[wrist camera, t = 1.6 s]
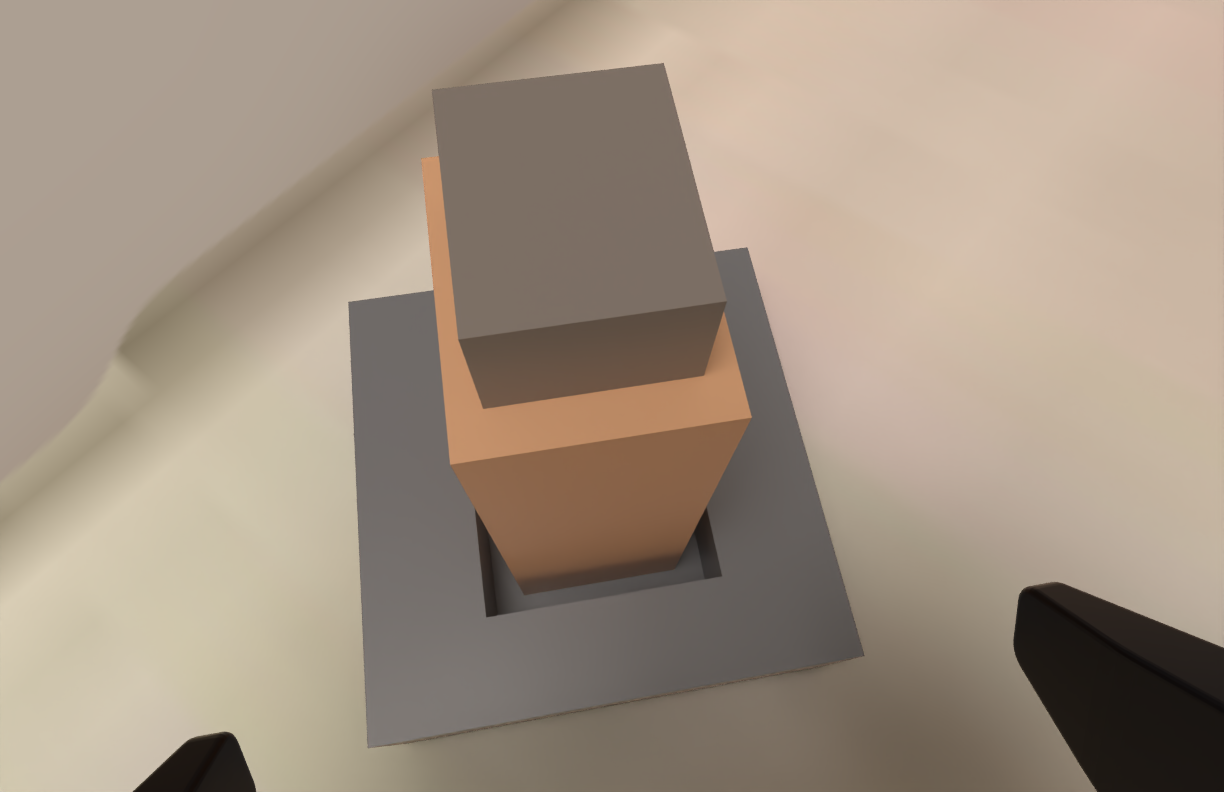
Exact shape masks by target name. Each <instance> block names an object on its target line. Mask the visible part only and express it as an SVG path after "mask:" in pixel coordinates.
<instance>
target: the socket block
mask: <svg viewBox="0 0 1224 792" xmlns="http://www.w3.org/2000/svg"><path fill="white" fill-rule="evenodd" d="M714 254H715V258H716V262H717V266H718V269H719V273H720V277H721V281H722V284H723V288H724V292H725V296H726V299H727V303H726V306H725V309H724V313H725V317H726V321H727V325H728V328H729V332H730V336H731V340H732V344H733V347H734V351H735V355H736V359H737V363H738V367H739V370H740V374H741V378H742V382H743V386H744V389H745V393H746V397H747V401H748V405H749V409H750V412H751V416H752V418H751V420H750V422H749V424H748V426H747V428H746V430H745V432H744V434H743V436H742V438H741V440H740V442H739V444H738V446H737V448H736V450H735V452H734V453H733V455H732V457H731V459H730V461H729V463H728V465H727V467H726V469H725V471H724V473H723V475H722V477H721V479H720V481H719V483H718V485H717V487H716V489H715V491H714V493H713V495H712V497H711V499H710V500H709V502H708V504H707V506H706V508H705V510H704V512H703V514H702V516H701V518H700V520H699V522H698V524H697V526H696V528H695V530H694V532H693V534H692V536H691V538H690V540H689V542H688V544H687V545H686V547H685V549H684V551H683V553H682V555H681V557H680V559H679V561H678V563H677V565H676V567H675V569H674V570H669V571H663V572H657V573H651V574H645V575H640V576H634V577H628V578H622V579H616V580H610V581H605V582H599V583H593V584H587V585H581V586H576V587H570V588H564V589H558V590H552V591H547V592H541V593H535V594H529V595H524V594H523V592H522V590H521V588H520V587H519V585H518V583H517V581H516V580H515V578H514V576H513V574H512V573H511V571H510V569H509V567H508V566H507V564H506V562H505V560H504V559H503V557H502V555H501V553H500V552H499V550H498V548H497V546H496V544H495V543H494V541H493V539H492V537H491V536H490V534H489V532H488V530H487V529H486V527H485V525H484V523H483V522H482V520H481V518H480V516H479V515H478V513H477V511H476V509H475V508H474V506H473V504H472V502H471V500H470V499H469V497H468V495H467V493H466V492H465V490H464V488H463V486H462V485H461V483H460V481H459V479H458V478H457V476H456V474H455V472H454V471H453V469H452V467H451V465H450V458H449V447H448V436H447V426H446V415H445V405H444V394H443V383H442V373H441V362H440V351H439V341H438V330H437V319H436V309H435V298H434V290H433V291H426V292H418V293H411V294H404V295H397V296H389V297H382V298H375V299H367V300H360V301H353V302H348V303H349V326H350V349H351V372H352V395H353V418H354V441H355V464H356V487H357V510H358V533H359V556H360V580H361V603H362V626H363V649H364V672H365V695H366V718H367V741H368V748H373V747H382V746H391V745H399V744H407V743H413V742H418V741H423V740H429V739H434V738H439V737H445V736H450V735H456V734H461V733H466V732H472V731H477V730H482V729H488V728H493V727H499V726H504V725H509V724H515V723H520V722H525V721H531V720H536V719H542V718H547V717H552V716H558V715H563V714H568V713H574V712H579V711H585V710H590V709H595V708H601V707H606V706H611V705H617V704H622V703H628V702H633V701H638V700H644V699H649V698H654V697H660V696H665V695H671V694H676V693H681V692H687V691H692V690H697V689H703V688H708V687H714V686H719V685H724V684H730V683H735V682H740V681H746V680H751V679H757V678H762V677H767V676H773V675H778V674H783V673H789V672H794V671H800V670H805V669H810V668H816V667H821V666H825V665H829V664H833V663H838V662H842V661H846V660H850V659H854V658H858V657H862V656H864V653H863V649H862V646H861V642H860V639H859V635H858V632H857V628H856V625H855V621H854V618H853V614H852V611H851V607H850V604H849V600H848V597H847V593H846V590H845V586H844V583H843V579H842V576H841V573H840V569H839V566H838V562H837V559H836V555H835V552H834V548H833V545H832V541H831V538H830V534H829V531H828V527H827V524H826V520H825V517H824V513H823V510H822V506H821V503H820V499H819V496H818V492H817V489H816V485H815V482H814V478H813V475H812V471H811V468H810V464H809V461H808V457H807V454H806V450H805V447H804V443H803V440H802V436H801V433H800V429H799V426H798V422H797V419H796V415H795V412H794V408H793V405H792V401H791V398H790V394H789V391H788V387H787V384H786V380H785V377H784V373H783V370H782V367H781V363H780V360H779V356H778V353H777V349H776V346H775V342H774V339H773V335H772V332H771V328H770V325H769V321H768V318H767V314H766V311H765V307H764V304H763V300H762V297H761V293H760V290H759V286H758V283H757V279H756V276H755V272H754V269H753V265H752V262H751V258H750V255H749V251H748V248H740V249H733V250H725V251H718V252H714Z"/></svg>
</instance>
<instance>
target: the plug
mask: <svg viewBox="0 0 1224 792" xmlns="http://www.w3.org/2000/svg"><path fill="white" fill-rule="evenodd" d="M432 96H433V106H434V115H435V124H436V134H437V143H438V153H439V156H437V157H429V158H421V160H422V171H423V181H424V192H425V202H426V213H427V224H428V234H429V245H430V256H431V266H432V277H433V288H434V298H435V309H436V319H437V330H438V341H439V351H440V362H441V373H442V383H443V394H444V405H445V415H446V426H447V436H448V447H449V458H450V465H451V467H452V469H453V471H454V472H455V474H456V476H457V478H458V479H459V481H460V483H461V485H462V486H463V488H464V490H465V492H466V493H467V495H468V497H469V499H470V500H471V502H472V504H473V506H474V508H475V509H476V511H477V513H478V515H479V516H480V518H481V520H482V522H483V523H484V525H485V527H486V529H487V530H488V532H489V534H490V536H491V537H492V539H493V541H494V543H495V544H496V546H497V548H498V550H499V552H500V553H501V555H502V557H503V559H504V560H505V562H506V564H507V566H508V567H509V569H510V571H511V573H512V574H513V576H514V578H515V580H516V581H517V583H518V585H519V587H520V588H521V590H522V592H523V594H524V595H529V594H535V593H541V592H547V591H552V590H558V589H564V588H570V587H576V586H581V585H587V584H593V583H599V582H605V581H610V580H616V579H622V578H628V577H634V576H640V575H645V574H651V573H657V572H663V571H669V570H674V569H675V567H676V565H677V563H678V561H679V559H680V557H681V555H682V553H683V551H684V549H685V547H686V545H687V544H688V542H689V540H690V538H691V536H692V534H693V532H694V530H695V528H696V526H697V524H698V522H699V520H700V518H701V516H702V514H703V512H704V510H705V508H706V506H707V504H708V502H709V500H710V499H711V497H712V495H713V493H714V491H715V489H716V487H717V485H718V483H719V481H720V479H721V477H722V475H723V473H724V471H725V469H726V467H727V465H728V463H729V461H730V459H731V457H732V455H733V453H734V452H735V450H736V448H737V446H738V444H739V442H740V440H741V438H742V436H743V434H744V432H745V430H746V428H747V426H748V424H749V422H750V420H751V418H752V416H751V412H750V409H749V405H748V401H747V397H746V393H745V389H744V386H743V382H742V378H741V374H740V370H739V367H738V363H737V359H736V355H735V351H734V347H733V344H732V340H731V336H730V332H729V328H728V325H727V321H726V317H725V313H724V309H725V306H726V303H727V299H726V296H725V292H724V288H723V284H722V281H721V277H720V273H719V269H718V266H717V262H716V258H715V254H714V250H713V247H712V243H711V239H710V235H709V232H708V228H707V224H706V220H705V217H704V213H703V209H702V205H701V201H700V198H699V194H698V190H697V186H696V183H695V179H694V175H693V171H692V168H691V164H690V160H689V156H688V152H687V149H686V145H685V141H684V137H683V134H682V130H681V126H680V122H679V119H678V115H677V111H676V107H675V104H674V100H673V96H672V92H671V88H670V85H669V81H668V77H667V73H666V70H665V66H664V63H661V64H652V65H644V66H635V67H626V68H617V69H609V70H600V71H591V72H583V73H574V74H565V75H556V76H548V77H539V78H530V79H522V80H513V81H504V82H496V83H487V84H478V85H469V86H461V87H452V88H443V89H435V90H432Z"/></svg>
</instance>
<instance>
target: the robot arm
mask: <svg viewBox="0 0 1224 792" xmlns="http://www.w3.org/2000/svg"><path fill="white" fill-rule="evenodd" d="M1014 651H1015V655H1016V658H1017V660H1018V663H1019V665H1020V667H1021V668H1022V670H1023V672H1024V673H1025V675H1026V676H1027V678H1028V680H1029V681H1030V683H1031V685H1032V686H1033V688H1034V690H1035V691H1036V693H1037V695H1038V696H1039V698H1040V700H1041V701H1042V703H1043V705H1044V706H1045V708H1046V710H1047V711H1048V713H1049V715H1050V716H1051V718H1052V720H1053V721H1054V723H1055V725H1056V726H1057V728H1058V729H1059V731H1060V733H1061V734H1062V736H1063V738H1064V739H1065V741H1066V743H1067V744H1068V746H1069V748H1070V749H1071V751H1072V753H1073V754H1074V756H1075V758H1076V759H1077V761H1078V763H1079V764H1080V766H1081V767H1082V769H1083V771H1084V772H1085V774H1086V775H1087V777H1088V778H1089V780H1090V781H1091V783H1092V785H1093V786H1094V787H1095V789H1096V790H1097V792H1224V648H1223V647H1220V646H1218V645H1215V644H1213V643H1210V642H1208V641H1205V640H1203V639H1200V638H1198V637H1195V636H1193V635H1190V634H1188V633H1185V632H1183V631H1180V630H1178V629H1175V628H1173V627H1170V626H1168V625H1165V624H1163V623H1160V622H1158V621H1155V620H1153V619H1150V618H1148V617H1145V616H1143V615H1140V614H1138V613H1135V612H1133V611H1130V610H1128V609H1125V608H1123V607H1120V606H1118V605H1115V604H1113V603H1110V602H1108V601H1105V600H1103V599H1100V598H1098V597H1096V596H1093V595H1091V594H1088V593H1086V592H1083V591H1081V590H1078V589H1076V588H1073V587H1071V586H1068V585H1066V584H1063V583H1059V582H1050V583H1045V584H1039V585H1034V586H1029V587H1026V588H1024V589H1023V590H1022V591H1021V593H1020V595H1019V599H1018V607H1017V615H1016V624H1015V632H1014ZM133 792H256V788H255V784H254V781H253V778H252V776H251V773H250V771H249V768H248V766H247V763H246V761H245V758H244V756H243V753H242V751H241V748H240V746H239V743H238V741H237V739H236V737H235V736H234V735H233V734H232V733H230V732H219V733H214V734H208V735H203V736H197V737H194V738H191V739H189V740H188V741H187V742H185V743H184V744H183V745H182V746H181V747H180V748H179V749H177V750H176V751H175V752H174V753H173V754H172V755H171V756H170V757H169V758H168V759H167V760H166V761H165V762H164V763H163V764H162V765H161V766H159V767H158V768H157V769H156V770H155V771H154V772H153V773H152V774H151V775H150V776H149V777H148V778H147V779H146V780H145V781H144V782H142V783H141V784H140V785H139V786H138V787H137V788H136V789H135V790H134V791H133Z"/></svg>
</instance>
